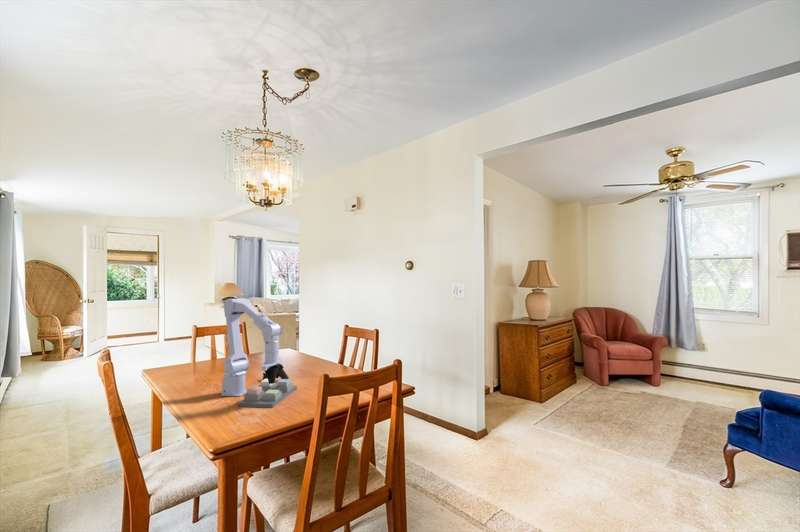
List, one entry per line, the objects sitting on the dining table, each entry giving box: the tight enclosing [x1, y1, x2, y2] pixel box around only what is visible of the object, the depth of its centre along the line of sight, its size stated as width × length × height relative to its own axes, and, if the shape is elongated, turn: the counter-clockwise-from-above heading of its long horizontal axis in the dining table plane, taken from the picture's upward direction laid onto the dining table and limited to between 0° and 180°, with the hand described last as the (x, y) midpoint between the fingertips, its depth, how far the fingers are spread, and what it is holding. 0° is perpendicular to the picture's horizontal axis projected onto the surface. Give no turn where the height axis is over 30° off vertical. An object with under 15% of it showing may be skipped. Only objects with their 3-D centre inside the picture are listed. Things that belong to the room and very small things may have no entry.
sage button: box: [264, 390, 279, 395], centre depth 159 cm, size 5×5×2 cm
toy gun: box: [262, 363, 290, 380], centre depth 191 cm, size 2×13×10 cm
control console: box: [238, 382, 298, 408], centre depth 165 cm, size 15×25×4 cm, turn 173°
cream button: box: [260, 379, 273, 386], centre depth 172 cm, size 5×5×2 cm
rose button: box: [246, 385, 262, 395], centre depth 160 cm, size 5×5×2 cm
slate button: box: [276, 378, 292, 387], centre depth 171 cm, size 5×5×2 cm
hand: (271, 383), depth 159 cm, fingers closed
